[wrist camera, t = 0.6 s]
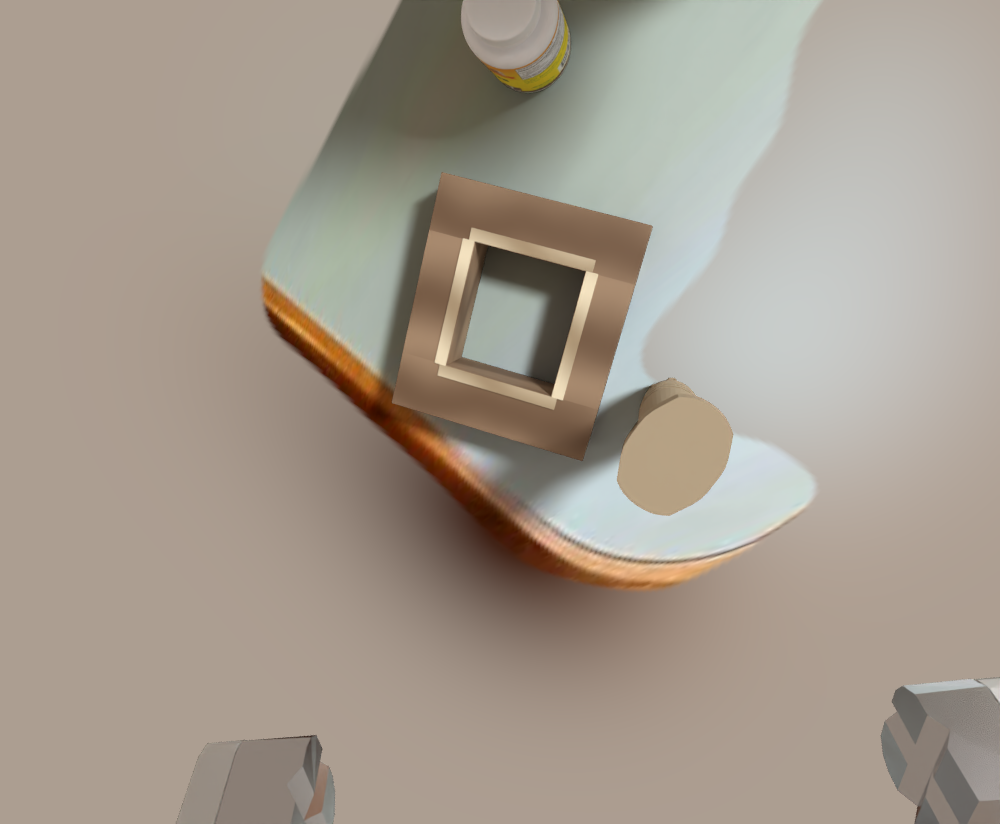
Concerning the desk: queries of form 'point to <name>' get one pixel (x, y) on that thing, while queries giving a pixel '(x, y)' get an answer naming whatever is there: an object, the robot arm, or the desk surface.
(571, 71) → the desk surface
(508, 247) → the square wooden frame
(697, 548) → the desk surface
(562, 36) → the supplement bottle
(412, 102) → the desk surface
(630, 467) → the handle
